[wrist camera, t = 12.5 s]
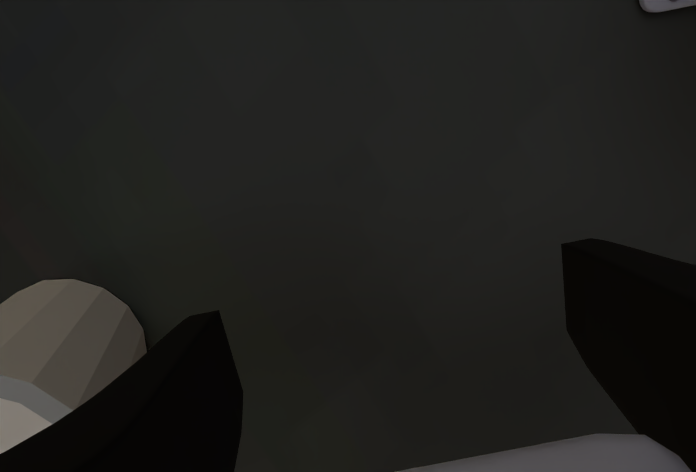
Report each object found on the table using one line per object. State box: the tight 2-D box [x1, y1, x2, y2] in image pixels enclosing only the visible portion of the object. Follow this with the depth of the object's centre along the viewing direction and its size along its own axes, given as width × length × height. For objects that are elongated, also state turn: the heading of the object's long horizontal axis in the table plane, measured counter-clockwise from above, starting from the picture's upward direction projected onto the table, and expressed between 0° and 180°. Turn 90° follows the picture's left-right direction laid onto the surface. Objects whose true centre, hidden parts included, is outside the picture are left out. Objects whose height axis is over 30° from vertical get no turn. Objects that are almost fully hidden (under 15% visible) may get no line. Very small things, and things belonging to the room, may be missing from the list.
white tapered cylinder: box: [0, 279, 147, 454], centre depth 20 cm, size 7×7×7 cm
